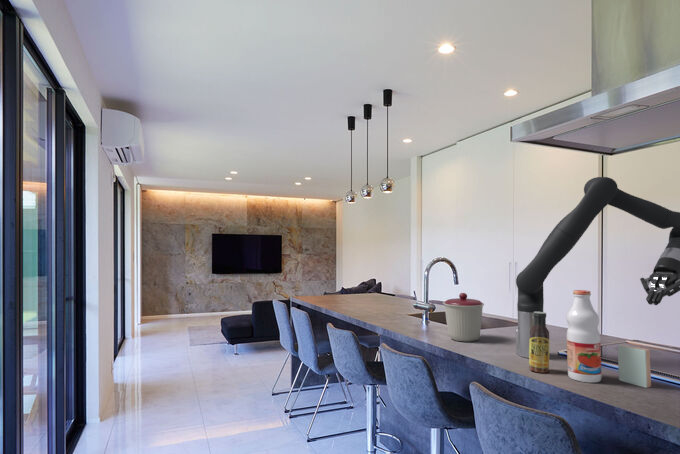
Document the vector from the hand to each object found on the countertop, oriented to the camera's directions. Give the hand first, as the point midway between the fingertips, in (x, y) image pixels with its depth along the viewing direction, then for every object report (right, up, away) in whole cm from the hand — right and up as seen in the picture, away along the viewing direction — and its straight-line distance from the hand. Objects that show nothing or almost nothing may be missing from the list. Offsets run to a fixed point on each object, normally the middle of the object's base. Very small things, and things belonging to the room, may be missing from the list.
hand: (651, 303), depth 136 cm
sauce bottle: (-33, -25, +7) cm, 42 cm away
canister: (-44, -27, +56) cm, 76 cm away
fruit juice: (-22, -24, -1) cm, 33 cm away
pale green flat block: (-10, -24, -6) cm, 26 cm away
